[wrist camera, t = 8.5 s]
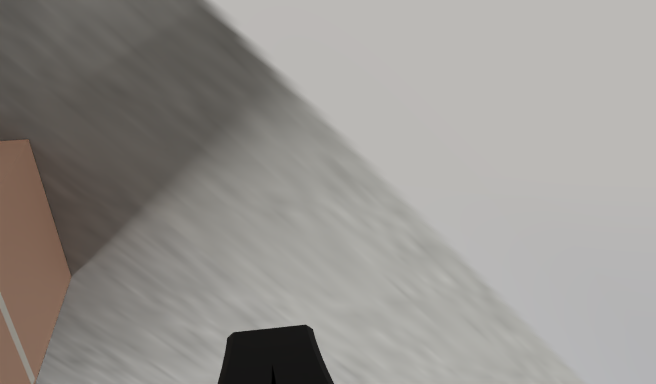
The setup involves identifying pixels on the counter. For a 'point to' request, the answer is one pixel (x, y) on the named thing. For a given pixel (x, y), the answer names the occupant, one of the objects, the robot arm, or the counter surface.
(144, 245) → the counter surface
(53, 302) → the tile
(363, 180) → the counter surface
